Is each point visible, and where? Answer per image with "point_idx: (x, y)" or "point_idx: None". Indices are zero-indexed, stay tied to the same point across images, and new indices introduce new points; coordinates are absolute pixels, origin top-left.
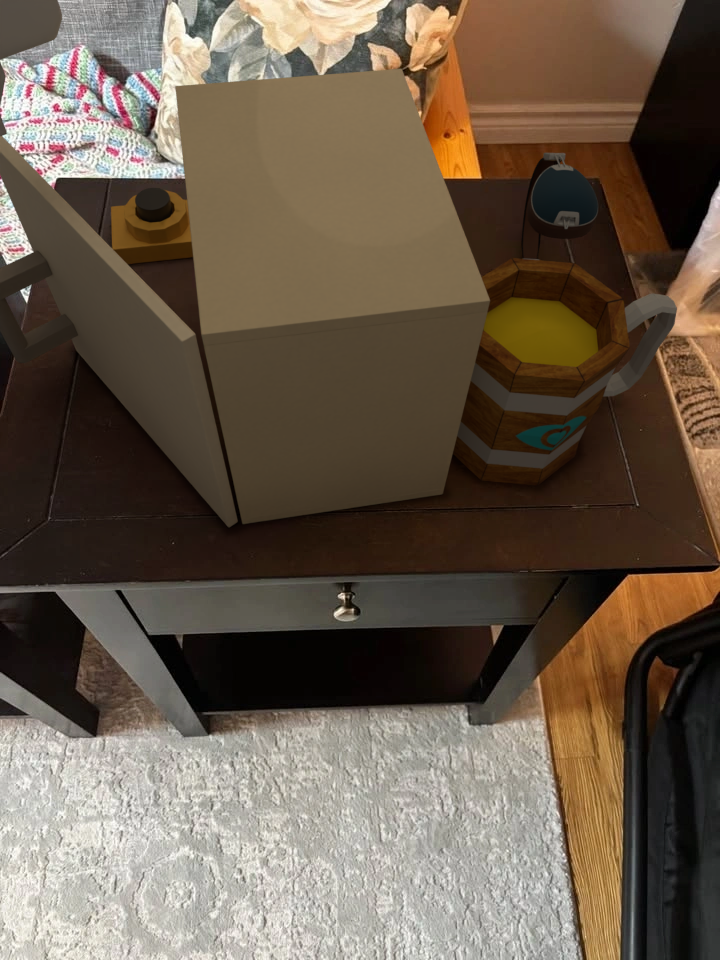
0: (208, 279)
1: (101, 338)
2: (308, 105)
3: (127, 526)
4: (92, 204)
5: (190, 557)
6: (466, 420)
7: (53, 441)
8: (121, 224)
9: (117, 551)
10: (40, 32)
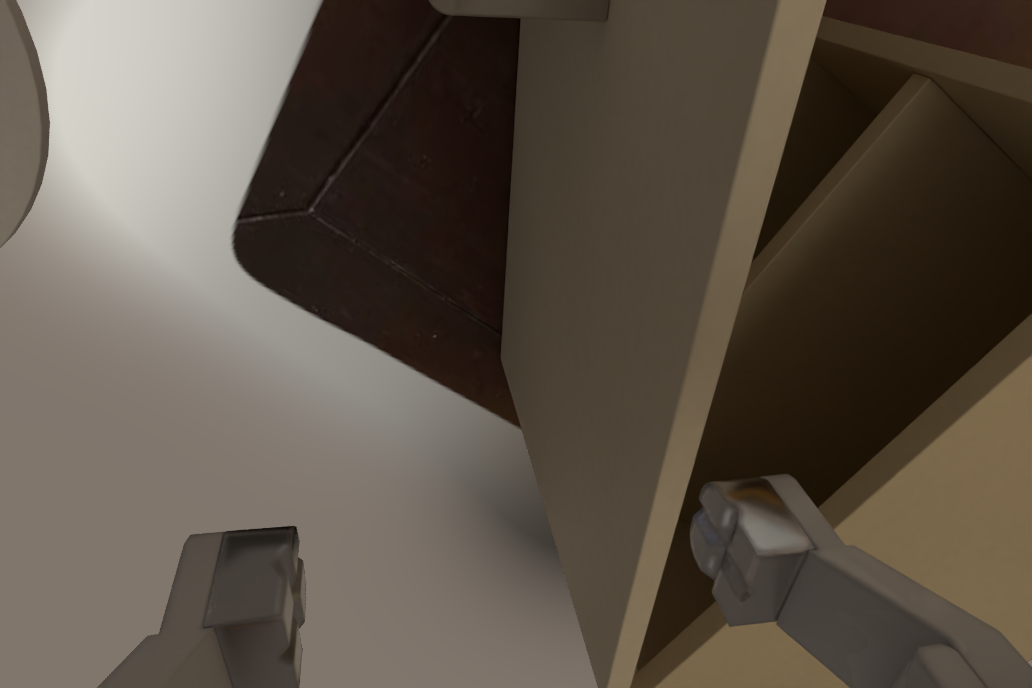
0: (721, 647)
1: (559, 188)
2: None
3: (399, 285)
4: None
5: (440, 361)
6: None
7: (381, 80)
8: None
9: (369, 307)
10: None
